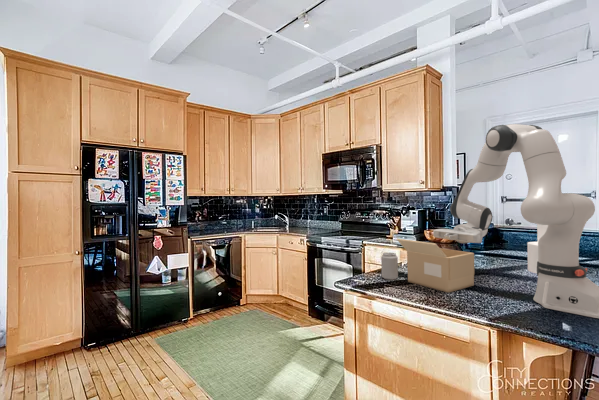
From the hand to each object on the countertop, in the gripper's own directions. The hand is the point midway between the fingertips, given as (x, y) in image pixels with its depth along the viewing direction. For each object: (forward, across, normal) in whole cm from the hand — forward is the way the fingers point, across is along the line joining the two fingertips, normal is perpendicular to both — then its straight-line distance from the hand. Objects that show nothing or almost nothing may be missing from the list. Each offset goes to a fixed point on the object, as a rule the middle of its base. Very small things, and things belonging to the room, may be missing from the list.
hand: (446, 237), depth 140 cm
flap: (+17, -2, +2) cm, 17 cm away
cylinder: (-55, +21, +22) cm, 63 cm away
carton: (+5, 0, +20) cm, 21 cm away
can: (+15, -20, +20) cm, 32 cm away
